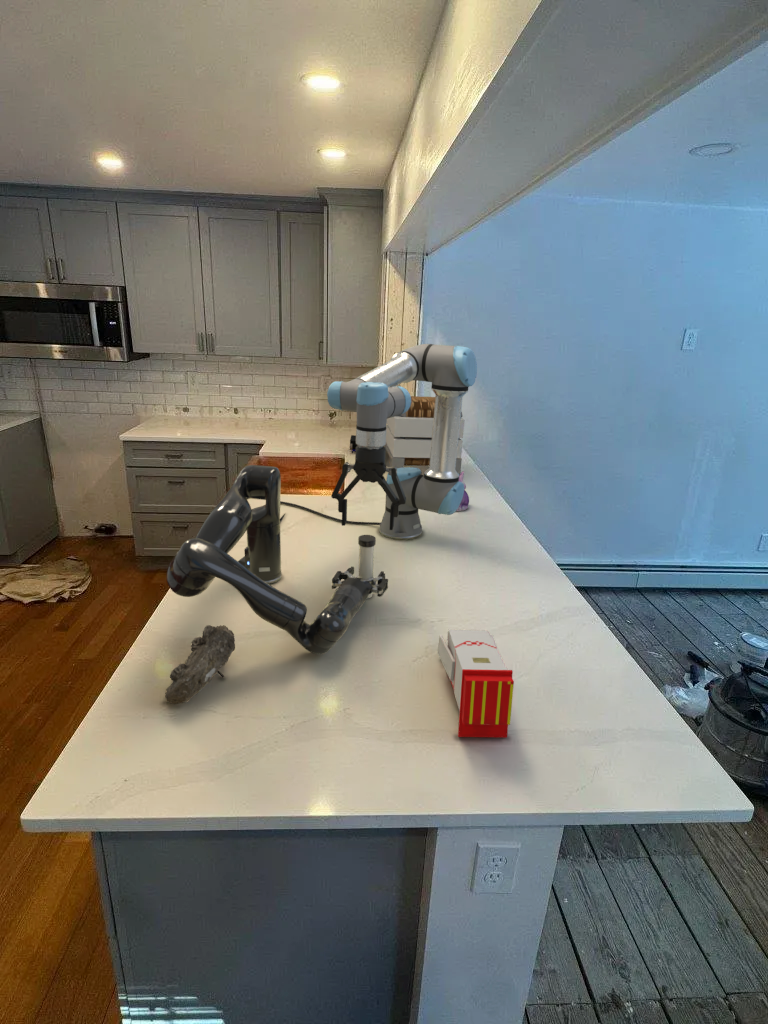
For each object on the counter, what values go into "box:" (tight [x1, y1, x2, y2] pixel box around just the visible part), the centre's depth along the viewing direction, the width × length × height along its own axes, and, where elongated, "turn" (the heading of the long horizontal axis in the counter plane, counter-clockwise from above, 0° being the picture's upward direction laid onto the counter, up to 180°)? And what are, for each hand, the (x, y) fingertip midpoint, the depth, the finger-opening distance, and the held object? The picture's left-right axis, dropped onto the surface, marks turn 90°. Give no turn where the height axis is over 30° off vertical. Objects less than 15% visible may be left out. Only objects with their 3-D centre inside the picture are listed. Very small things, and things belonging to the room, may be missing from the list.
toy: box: [437, 628, 515, 738], centre depth 117 cm, size 12×13×30 cm
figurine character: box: [349, 434, 357, 454], centre depth 310 cm, size 7×8×15 cm
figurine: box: [455, 470, 470, 512], centre depth 226 cm, size 9×10×15 cm
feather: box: [280, 513, 286, 523], centre depth 210 cm, size 2×28×2 cm
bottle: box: [357, 544, 375, 599], centre depth 154 cm, size 4×4×17 cm
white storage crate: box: [384, 384, 465, 475], centre depth 268 cm, size 34×33×41 cm
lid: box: [357, 534, 377, 547], centre depth 151 cm, size 5×5×2 cm
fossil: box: [165, 624, 236, 705], centre depth 118 cm, size 22×10×15 cm
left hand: (367, 572), depth 156 cm, fingers open, 8 cm apart
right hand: (367, 526), depth 150 cm, fingers open, 12 cm apart
